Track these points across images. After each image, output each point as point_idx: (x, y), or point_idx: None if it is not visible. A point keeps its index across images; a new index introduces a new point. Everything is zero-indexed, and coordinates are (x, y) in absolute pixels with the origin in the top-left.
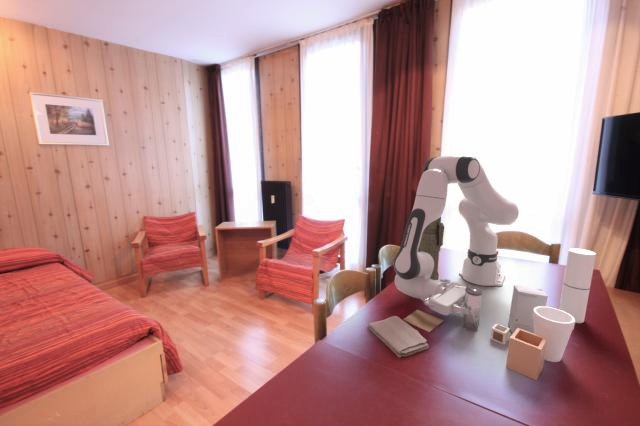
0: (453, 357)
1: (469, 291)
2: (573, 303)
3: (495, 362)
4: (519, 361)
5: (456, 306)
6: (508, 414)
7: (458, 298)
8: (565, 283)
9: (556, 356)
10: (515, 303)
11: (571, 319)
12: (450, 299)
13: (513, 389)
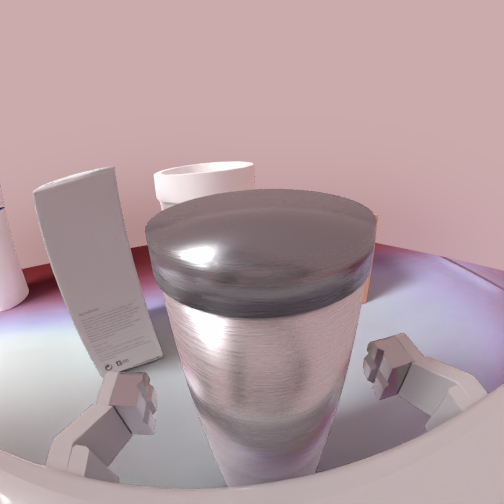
0: (483, 356)
1: (368, 215)
2: (10, 250)
3: (380, 317)
4: None
5: (467, 376)
6: (445, 261)
7: (368, 461)
8: None
9: None
10: (118, 239)
11: (193, 169)
12: (490, 449)
13: (404, 275)
